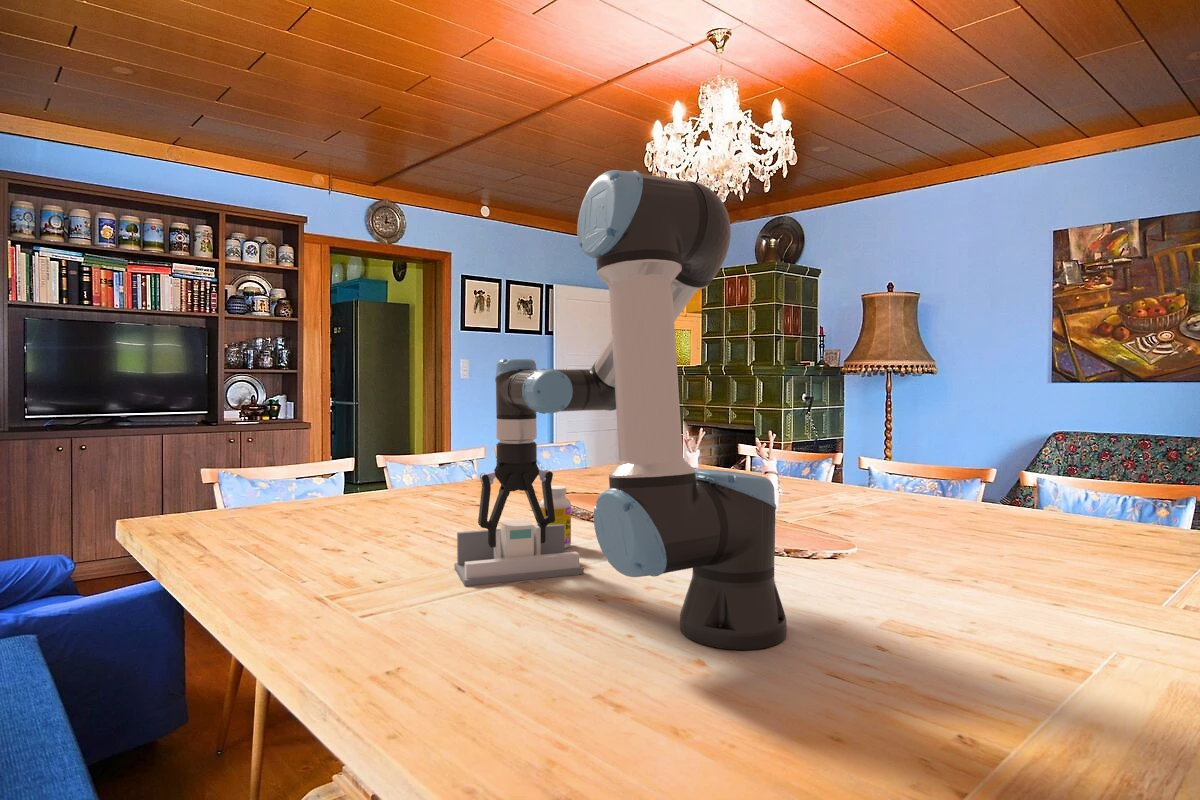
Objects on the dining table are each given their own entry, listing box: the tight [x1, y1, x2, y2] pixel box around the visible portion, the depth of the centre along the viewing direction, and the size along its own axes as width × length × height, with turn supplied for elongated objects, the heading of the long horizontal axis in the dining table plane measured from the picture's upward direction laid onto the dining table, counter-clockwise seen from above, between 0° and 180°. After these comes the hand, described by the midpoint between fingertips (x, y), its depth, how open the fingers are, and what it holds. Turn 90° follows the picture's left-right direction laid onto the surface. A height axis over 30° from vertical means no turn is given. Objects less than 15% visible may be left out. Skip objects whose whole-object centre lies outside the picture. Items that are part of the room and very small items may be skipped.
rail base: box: [453, 524, 585, 587], centre depth 134 cm, size 12×22×7 cm, turn 110°
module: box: [499, 518, 535, 558], centre depth 135 cm, size 6×5×8 cm
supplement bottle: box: [539, 485, 572, 549], centre depth 153 cm, size 7×7×13 cm
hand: (517, 561), depth 135 cm, fingers open, 7 cm apart
